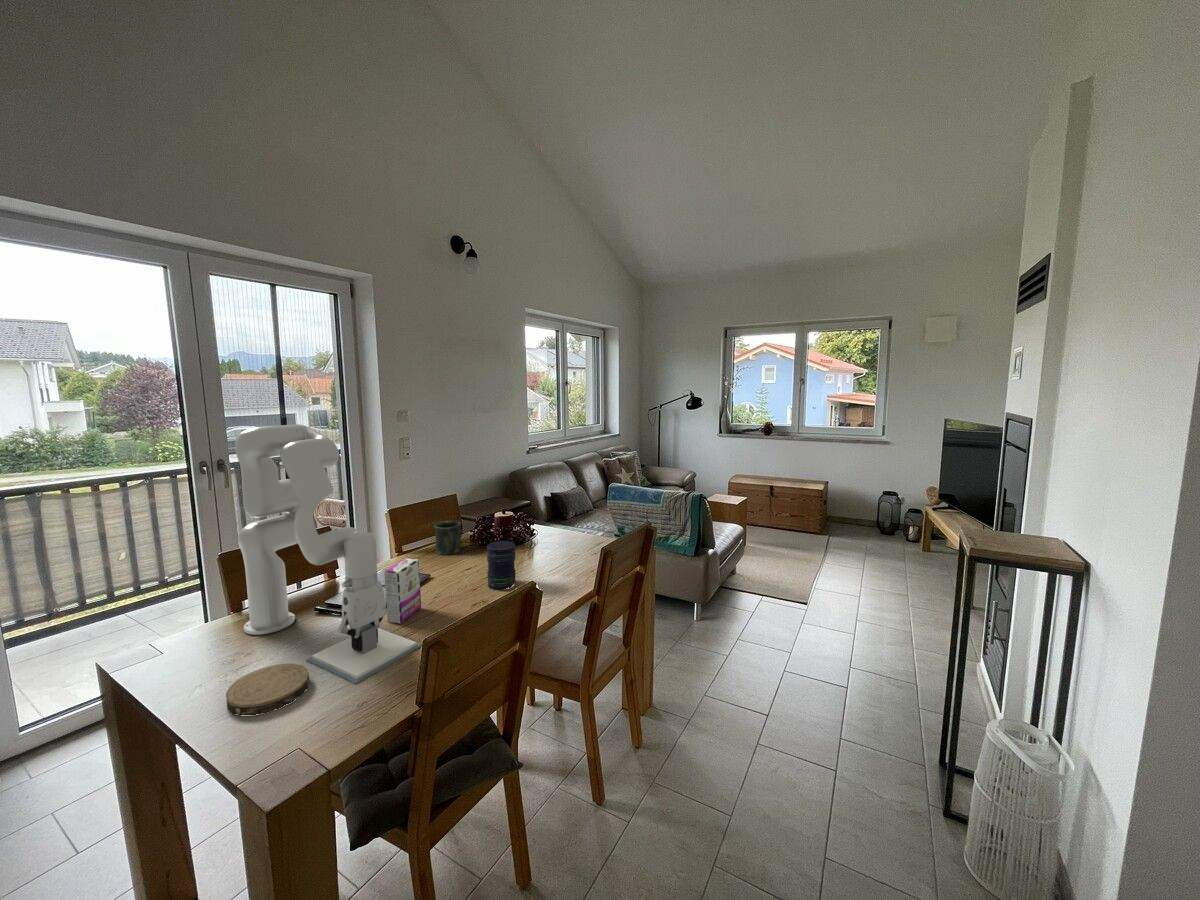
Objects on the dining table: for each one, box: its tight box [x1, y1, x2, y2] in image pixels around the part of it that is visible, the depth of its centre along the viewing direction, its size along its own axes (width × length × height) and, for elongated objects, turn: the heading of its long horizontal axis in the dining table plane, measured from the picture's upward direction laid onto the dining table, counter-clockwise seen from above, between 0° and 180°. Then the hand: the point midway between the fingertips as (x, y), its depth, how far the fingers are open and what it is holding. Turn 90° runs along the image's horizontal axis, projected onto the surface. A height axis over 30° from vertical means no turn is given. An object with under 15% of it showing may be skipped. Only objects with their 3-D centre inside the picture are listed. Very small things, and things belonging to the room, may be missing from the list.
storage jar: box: [486, 540, 516, 591], centre depth 175 cm, size 10×10×15 cm
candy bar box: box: [384, 558, 422, 625], centre depth 152 cm, size 11×5×16 cm, turn 168°
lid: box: [311, 624, 417, 679], centre depth 131 cm, size 18×18×7 cm
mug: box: [433, 520, 463, 556], centre depth 212 cm, size 11×15×12 cm
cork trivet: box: [225, 663, 310, 715], centre depth 114 cm, size 16×16×3 cm
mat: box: [305, 627, 422, 685], centre depth 131 cm, size 20×20×1 cm
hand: (365, 645), depth 131 cm, fingers closed on lid, 4 cm apart
